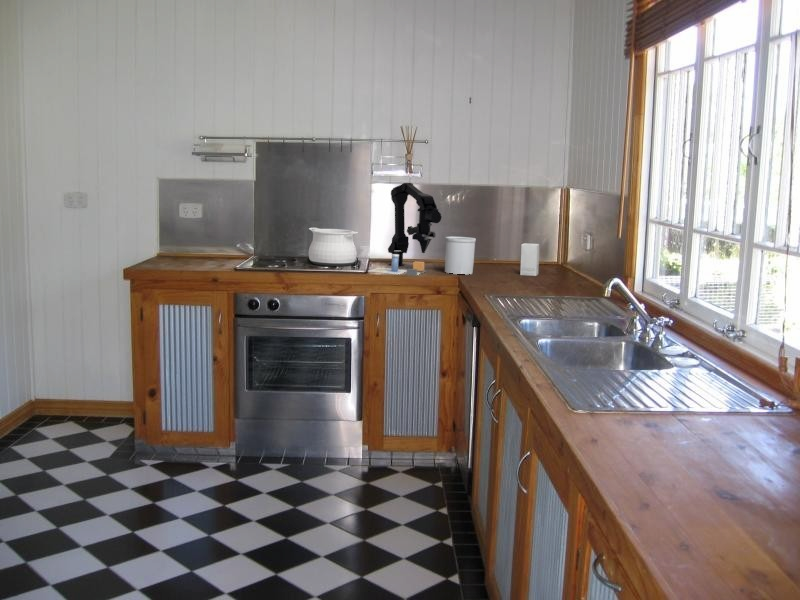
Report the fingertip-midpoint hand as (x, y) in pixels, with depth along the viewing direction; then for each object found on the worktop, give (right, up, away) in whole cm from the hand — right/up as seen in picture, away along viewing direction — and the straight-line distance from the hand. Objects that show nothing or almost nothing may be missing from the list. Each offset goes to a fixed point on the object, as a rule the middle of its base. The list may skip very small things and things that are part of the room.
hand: (423, 253), depth 435 cm
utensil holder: (+17, -10, +1) cm, 20 cm away
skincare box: (+53, -11, +5) cm, 54 cm away
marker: (-14, -9, -6) cm, 18 cm away
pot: (-46, -5, +16) cm, 49 cm away
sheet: (-17, -9, -4) cm, 20 cm away
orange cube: (-2, -9, -5) cm, 10 cm away
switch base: (-4, -10, -7) cm, 13 cm away
